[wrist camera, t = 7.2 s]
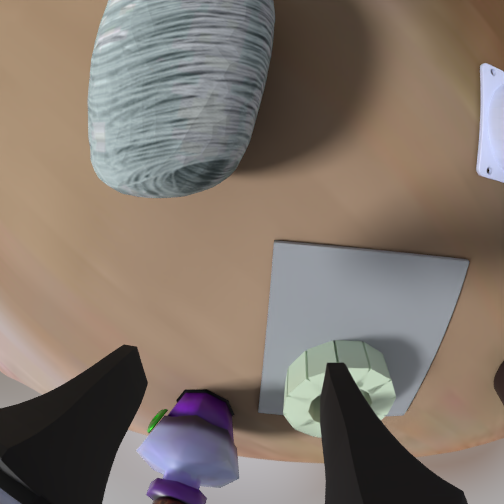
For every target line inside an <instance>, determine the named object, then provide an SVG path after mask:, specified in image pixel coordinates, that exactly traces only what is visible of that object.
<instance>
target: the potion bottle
mask: <svg viewBox="0 0 504 504" xmlns="http://www.w3.org/2000/svg"><path fill="white" fill-rule="evenodd" d="M176 401H177V404H176V405H175V407H174V408H173V409H172V410H171V412H170V413H169V414H168V416H164V414H165V413H166V412H167V411H168V410H167V409H164V410H161V411H160V412H159V413H157V415H156V416H155V417H154V418H153V419H152V421H151V422H150V424H149V426H148V430H147V432H148V433H150V432H151V430H152V429H153V428H154V427H155V426H156V424H157V423H158V422H159V421H160V419H161V418H162V417H163V416H164V417H163V418H162V420H161V421H160V422H159V423H158V424H157V426H156V427H155V428H154V429H153V431H152V432H151V433H150V434H149V436H148V437H147V438H146V439H145V441H144V442H143V443H142V444H141V446H140V447H139V448H138V449H137V452H138V453H139V455H140V456H141V457H142V458H143V459H144V460H145V461H146V462H147V463H148V465H149V466H150V467H151V468H152V469H153V470H155V471H157V472H159V473H161V474H163V475H164V476H163V479H160V478H157V479H155V480H154V481H152V482H151V484H150V487H149V489H148V492H147V496H149V497H150V498H151V499H152V500H154V501H153V504H205V503H206V499H207V498H206V497H205V496H204V495H203V494H202V493H201V491H200V490H199V488H200V486H206V487H218V488H221V487H223V486H225V485H227V484H229V483H231V482H233V481H235V480H237V479H239V470H238V457H237V448H236V446H235V444H234V440H233V425H232V416H233V415H234V413H233V411H232V408H231V406H230V404H229V401H228V400H226V399H224V398H222V397H220V396H218V395H216V394H214V393H212V392H210V391H208V390H184V391H183V393H182V394H181V395H180V396H179V398H178V399H177V400H176Z"/></svg>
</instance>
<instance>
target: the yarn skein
mask: <svg viewBox="0 0 504 504" xmlns="http://www.w3.org/2000/svg"><path fill="white" fill-rule="evenodd" d="M274 23H275V9H274V2H273V0H109V1H108V4H107V7H106V9H105V12H104V15H103V17H102V20H101V23H100V26H99V30H98V33H97V37H96V41H95V45H94V51H93V54H92V59H91V69H90V81H89V92H88V133H89V143H90V149H91V162H92V165H93V168H94V170H95V172H96V174H97V176H98V178H100V179H101V180H102V181H103V182H104V183H105V184H107V185H108V186H110V187H111V188H113V189H115V190H116V191H118V192H120V193H123V194H128V195H133V196H137V197H146V198H171V197H182V196H187V195H191V194H194V193H198V192H201V191H204V190H206V189H209V188H212V187H214V186H216V185H217V184H219V183H221V182H222V181H223V180H225V179H226V178H228V177H229V176H230V175H231V174H232V173H233V172H234V171H235V170H236V168H237V166H238V164H239V162H240V160H241V159H242V157H243V155H244V153H245V151H246V149H247V147H248V144H249V142H250V140H251V136H252V132H253V128H254V125H255V121H256V118H257V114H258V110H259V107H260V103H261V99H262V95H263V92H264V88H265V84H266V79H267V74H268V68H269V63H270V59H271V53H272V46H273V36H274Z"/></svg>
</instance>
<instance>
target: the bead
mask: <svg viewBox="0 0 504 504" xmlns="http://www.w3.org/2000/svg"><path fill="white" fill-rule="evenodd" d="M339 362H344V363H345V364H346V366H347V368H348V370H349V372H350V374H351V375H352V377H353V379H354V381H355V383H356V384H357V386H358V388H359V389H360V391H361V393H362V394H363V396H364V397H365V399H366V400H367V402H368V403H369V405H370V406H371V408H372V409H373V411H374V412H375V414H376V415H377V416H378V418H379V419H380V420H381V419H383V418H384V417H385V416H386V415H387V414H388V412H389V410H390V409H391V407H392V405H393V403H394V401H395V399H396V395H395V391H394V387H393V384H392V380H391V377H390V374H389V371H388V368H387V365H386V362H385V359H384V356H383V354H382V353H381V352H380V351H378V350H377V349H375V348H373V347H372V346H370V345H368V344H367V343H365V342H363V343H362V341H346V340H335V344H334V342H333V340H332V341H330V342H327V343H324V344H321V345H319V346H316V347H313V348H310V349H307V352H306V351H304V352H303V353H302V354H301V355H300V356H299V357H298V358H297V359H296V360H295V361H294V362H293V363H292V364H291V365H290V366H289V368H288V370H287V376H286V382H285V390H284V407H283V413H284V414H283V415H284V416H285V418H286V419H287V420H288V422H289V423H290V424H291V426H292V427H293V428H295V430H298V431H300V432H303V433H305V434H308V435H310V436H313V437H315V436H316V437H322V436H321V428H320V396H319V395H320V394H321V392H322V387H323V382H324V376H325V371H326V365H327V363H339Z"/></svg>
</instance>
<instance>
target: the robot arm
mask: <svg viewBox="0 0 504 504" xmlns="http://www.w3.org/2000/svg"><path fill="white" fill-rule="evenodd" d="M491 71H492V72H493V75H492V74H491ZM480 81H481V112H480V133H479V146H478V157H477V166H476V170H477V173H478V174H479V175H480V176H483V177H486V178H490V179H493V180H497V181H500V182H503V183H504V71H502V70H500V69H498V68H496V67H493V66H491V65H489V64H487V63H484V64H481V66H480ZM487 168H489V173H487ZM147 384H148V382H147V379H146V376H145V372H144V369H143V366H142V363H141V359H140V356H139V352H138V349H137V347H135V346H129V345H123V346H121V347H119V348H118V349H116V350H115V351H113V352H112V353H110V354H109V355H108V356H106V357H105V358H103V359H102V360H100V361H99V362H97V363H96V364H95V365H93V366H92V367H90V368H89V369H87V370H86V371H84V372H83V373H81V374H79V375H78V376H76V377H75V378H73V379H71V380H70V381H68V382H67V383H65V384H63V385H61V386H60V387H58V388H56V389H54V390H52V391H50V392H48V393H46V394H43V395H41V396H39V397H36V398H34V399H31V400H28V401H25V402H23V403H20V404H16V405H13V406H9V407H5V408H0V504H102V501H103V497H104V492H105V488H106V484H107V481H108V477H109V474H110V470H111V467H112V464H113V461H114V458H115V455H116V453H117V450H118V448H119V446H120V444H121V442H122V439H123V438H124V436H125V434H126V432H127V430H128V428H129V426H130V424H131V422H132V420H133V418H134V416H135V414H136V413H137V411H138V409H139V407H140V404H141V402H142V399H143V396H144V394H145V390H146V387H147ZM320 428H321V436H322V445H323V454H324V464H325V476H326V492H325V494H326V495H325V504H468V503H467V500H466V498H465V495H464V492H463V491H462V490H460V489H458V488H457V487H455V486H453V485H452V484H450V483H448V482H446V481H445V480H443V479H442V478H440V477H439V476H437V475H436V474H435V473H433V472H432V471H431V470H429V469H428V468H427V467H426V466H424V465H423V464H422V463H421V462H420V461H419V460H417V459H416V458H415V457H414V456H413V455H412V454H410V453H409V452H408V451H407V450H406V449H405V448H404V447H403V446H402V445H401V444H400V443H399V442H398V440H397V439H396V438H395V437H394V436H393V435H392V434H391V433H390V431H389V430H388V429H387V428H386V427H385V425H384V424H383V423H382V421H381V420H380V419H379V418H378V416H377V415H376V414H375V412H374V411H373V409H372V408H371V406H370V405H369V403H368V402H367V400H366V399H365V397H364V396H363V394H362V393H361V391H360V389H359V388H358V386H357V384H356V383H355V381H354V379H353V377H352V375H351V374H350V372H349V370H348V368H347V366H346V364H345V363H344V362H339V363H327V365H326V371H325V376H324V382H323V387H322V392H321V397H320Z"/></svg>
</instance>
